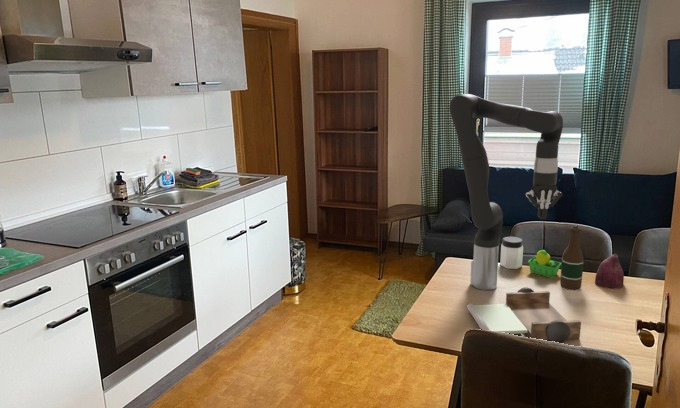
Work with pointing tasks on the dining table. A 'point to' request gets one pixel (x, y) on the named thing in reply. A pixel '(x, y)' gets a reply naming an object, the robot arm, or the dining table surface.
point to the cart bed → (541, 316)
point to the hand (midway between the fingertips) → (542, 218)
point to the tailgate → (496, 318)
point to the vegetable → (610, 273)
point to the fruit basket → (544, 265)
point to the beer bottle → (572, 262)
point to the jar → (511, 252)
